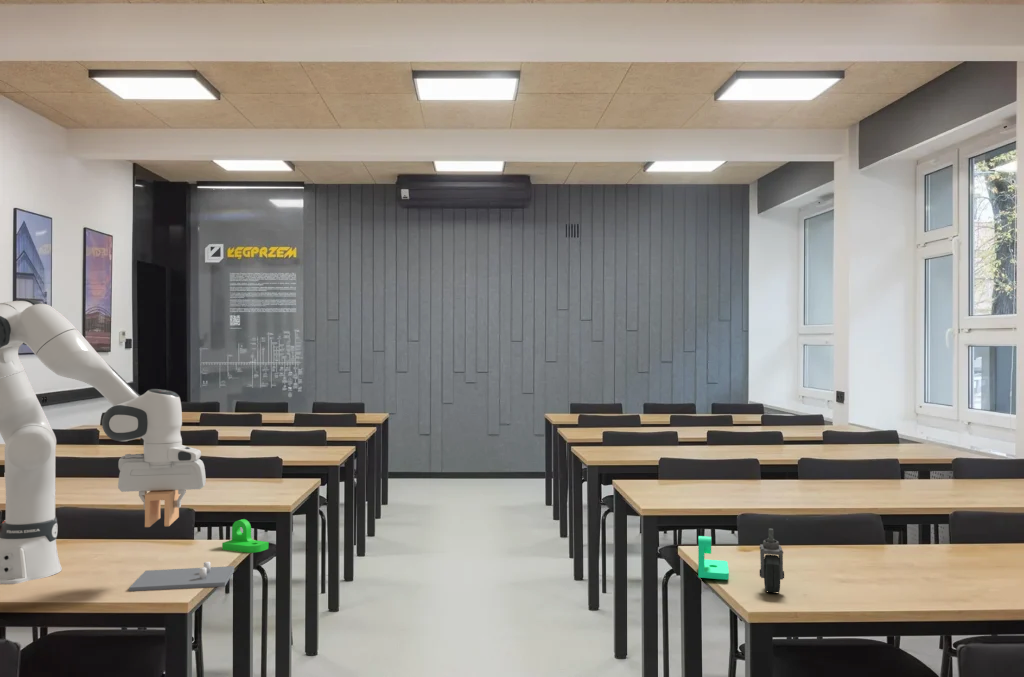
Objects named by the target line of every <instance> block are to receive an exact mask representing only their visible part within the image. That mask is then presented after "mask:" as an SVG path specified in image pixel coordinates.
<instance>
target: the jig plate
mask: <svg viewBox="0 0 1024 677" xmlns="http://www.w3.org/2000/svg"><path fill="white" fill-rule="evenodd" d="M234 572H235V566H234V565H231V566H230V565H229V566H211V561H204V562H203V567H191V568H190V567H188V568H170V569H169V568H167V569H152V570H150V569H149V570H145V571H144V572H143V573H141V575H140V576H139V577H138V578H137V579H136V580H134V582H133V583H132V584H131V585H130V586H129V589H128V591H129V592H139V591H141V592H143V591H144V592H145V591H158V590H159V591H161V590H179V589H180V590H181V589H199V588H200V589H202V588H203V589H204V588H219V587H220V588H221V587H226V585H227V584H228V582H229V580H230V579H231V577H232V576H233V573H234Z"/></svg>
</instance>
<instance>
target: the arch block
mask: <svg viewBox="0 0 1024 677" xmlns="http://www.w3.org/2000/svg"><path fill="white" fill-rule="evenodd" d="M179 496H180V494H178V490H160V491H147V494H145V509H144V528H150V527H152V526H153V525H154V524H156V522H157V521H159V520H160V519H161V501H164V508H163V509H164V523H163V524H164V527H170V526H171V525H172V524H174V522H175V521H177V520H178V518H180V508H174V507H173V505H174V504H173V501H174V500H178V498H179Z"/></svg>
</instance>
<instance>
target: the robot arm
mask: <svg viewBox="0 0 1024 677" xmlns="http://www.w3.org/2000/svg"><path fill="white" fill-rule="evenodd" d="M22 345H24V346H27V347H28V348H29V349H30V351H32V352H33V354H34V355H35V356H36V358H38V360H39V361H40V362H41V363H42V364H43V365H44V366H45V367H46V368H47V369H49V370H51V371H52V372H53V373H55V374H56V375H57V376H60V377H64V378H68V379H72V380H77V381H79V382H82V383H84V384H88V385H89V386H91V387H92V388H94V389H95V390H97V392H99V393H100V394H101V395H102V397H104V398H105V399H106V401H108V402H109V403H110V404H111V405H112V406H111V407H110V408H108V409H107V410H105V412H104V414H103V417H102V420H101V425H102V426H101V427H102V430H103V432H104V434H105V435H106V436H107V437H108V438H109V439H111V440H113V441H115V442H116V441H117V442H128V441H133V440H137V439H142V440H143V453H132V454H131V453H127V454H124V455H123V456H121V457H120V458H119V460H118V465H117V466H118V467H117V468H118V470H119V475H118V483H117V487H118V489H119V491H120V492H122V493H125V492H138V496H139V498H140V499H141V502H143V509H144V510H145V494H147V493H148V492H150V491H160V490H178V494H179V498H178V500H174V501H173V504H174V505H173V507H174V508H179V509H180V508H181V507H182V500H183V498H184V496H185V495H186V493H187V490H188V491H189V490H191V491H192V490H201V489H203V487H205V486H206V481H207V478H206V469H205V468H206V466H205V464H204V461H203V460H201V459H200V458H201V457H202V451H201V449H198V448H195V447H191V446H187V445H183V439H182V438H183V437H182V435H181V428H182V426H183V413H182V411H183V410H182V402H181V397H180V395H179V394H178V393H177V392H175V391H172V390H168V389H160V388H159V389H158V388H150V389H148V390H147V391H146V392H144V393H143V394H139V393H138V392H137V391H136V390H135V389H134V388H133V387H132V386H131V385H130V384H129V383H128V382H127V381H126V380H125V379H124V378H123V377H122V376H121V375H120V374H119V373H118V372H117V371H116V370H114V368H113V367H111V365H110V364H109V363H107V361H106V360H105V359H104V358H103V357H102V356H101V355H100V354H99V353H98V352H97V350H95V348H94V347H93V346H92V345H91V343H90V342H89V341H88V340H87V338H85V337H84V336H83V334H82V333H81V332H80V331H79V330H78V329H77V327H76V326H75V325H74V324H73V323H72V322H71V321H70V320H69V319H68V318H67V317H65V315H63V314H62V313H61V312H60V311H58V310H57V309H55V308H54V306H52V305H49V304H46V303H42V302H40V301H38V300H36V299H28V298H27V299H26V298H25V299H17V300H14V301H13V300H12V301H5V302H0V436H1V437H2V440H3V441H4V444H5V446H4V483H5V519H4V520H3V521H2V523H0V585H15V584H21V583H24V582H29V581H34V580H40V579H43V578H48V577H51V576H53V575H56V574H58V573H60V572H61V571H62V569H63V568H62V565H61V562H60V558H59V554H58V553H59V552H58V546H57V538H58V517H57V516H56V492H57V490H56V450H57V437H56V434H55V432H54V430H53V428H52V426H51V424H50V422H49V420H48V417H47V415H46V413H45V411H44V409H43V408H42V405H41V403H40V401H39V399H38V397H37V395H36V392H35V390H34V387H33V384H32V383H31V381H30V379H29V376H28V374H27V372H26V370H25V367H24V365H23V363H22V361H21V358H20V357H19V349H20V347H21V346H22Z"/></svg>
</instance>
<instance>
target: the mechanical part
mask: <svg viewBox="0 0 1024 677" xmlns="http://www.w3.org/2000/svg"><path fill="white" fill-rule="evenodd" d="M241 529H242V531H241ZM269 543H270V542H269V541H262V540H255V539H253V538H252V526H251V523H250V521H248V520H247V519H245V518H243V519H239V520H236V521H234V522H233V523H232V526H231V539H230V540H227V541H224V542H222V543H221V546H222V548H221V549H222V550H223V551H230V552H239V553H248V554H253V553H261V552H263V551H266V550H269V546H270V545H269Z"/></svg>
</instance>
